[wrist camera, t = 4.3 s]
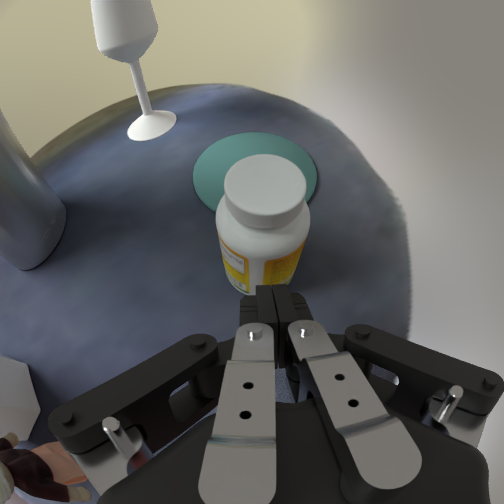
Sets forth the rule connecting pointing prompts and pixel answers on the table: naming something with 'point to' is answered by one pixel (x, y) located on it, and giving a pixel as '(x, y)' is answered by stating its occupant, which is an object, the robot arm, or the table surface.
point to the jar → (16, 399)
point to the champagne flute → (131, 54)
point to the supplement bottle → (262, 221)
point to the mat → (236, 148)
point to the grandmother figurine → (40, 472)
